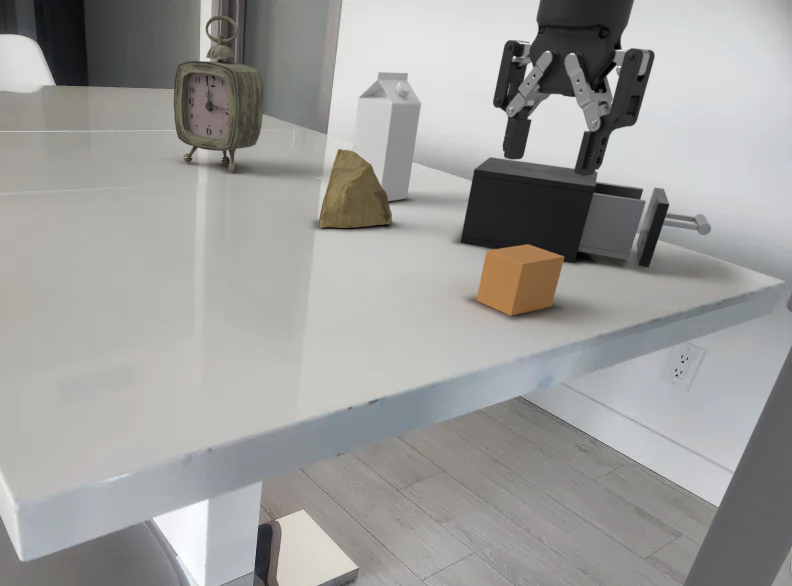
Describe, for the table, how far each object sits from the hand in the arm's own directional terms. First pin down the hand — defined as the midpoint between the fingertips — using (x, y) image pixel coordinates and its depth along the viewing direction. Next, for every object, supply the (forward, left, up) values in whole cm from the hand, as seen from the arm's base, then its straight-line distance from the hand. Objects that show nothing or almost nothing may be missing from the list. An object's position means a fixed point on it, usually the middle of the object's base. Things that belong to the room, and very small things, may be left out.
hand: (546, 166), depth 64 cm
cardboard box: (0, 0, -14) cm, 14 cm away
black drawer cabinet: (-7, -26, -14) cm, 30 cm away
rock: (+16, -27, -14) cm, 34 cm away
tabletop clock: (+41, -62, -14) cm, 76 cm away
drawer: (-18, -22, -13) cm, 31 cm away
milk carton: (+12, -47, -14) cm, 51 cm away
